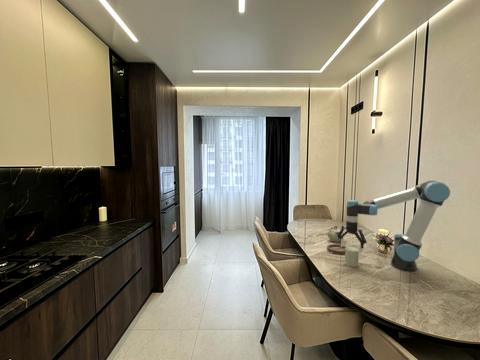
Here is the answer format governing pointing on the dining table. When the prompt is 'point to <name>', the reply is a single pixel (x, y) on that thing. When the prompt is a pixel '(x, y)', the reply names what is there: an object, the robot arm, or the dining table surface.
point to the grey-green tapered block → (351, 256)
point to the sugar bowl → (334, 234)
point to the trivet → (336, 249)
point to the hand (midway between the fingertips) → (351, 249)
